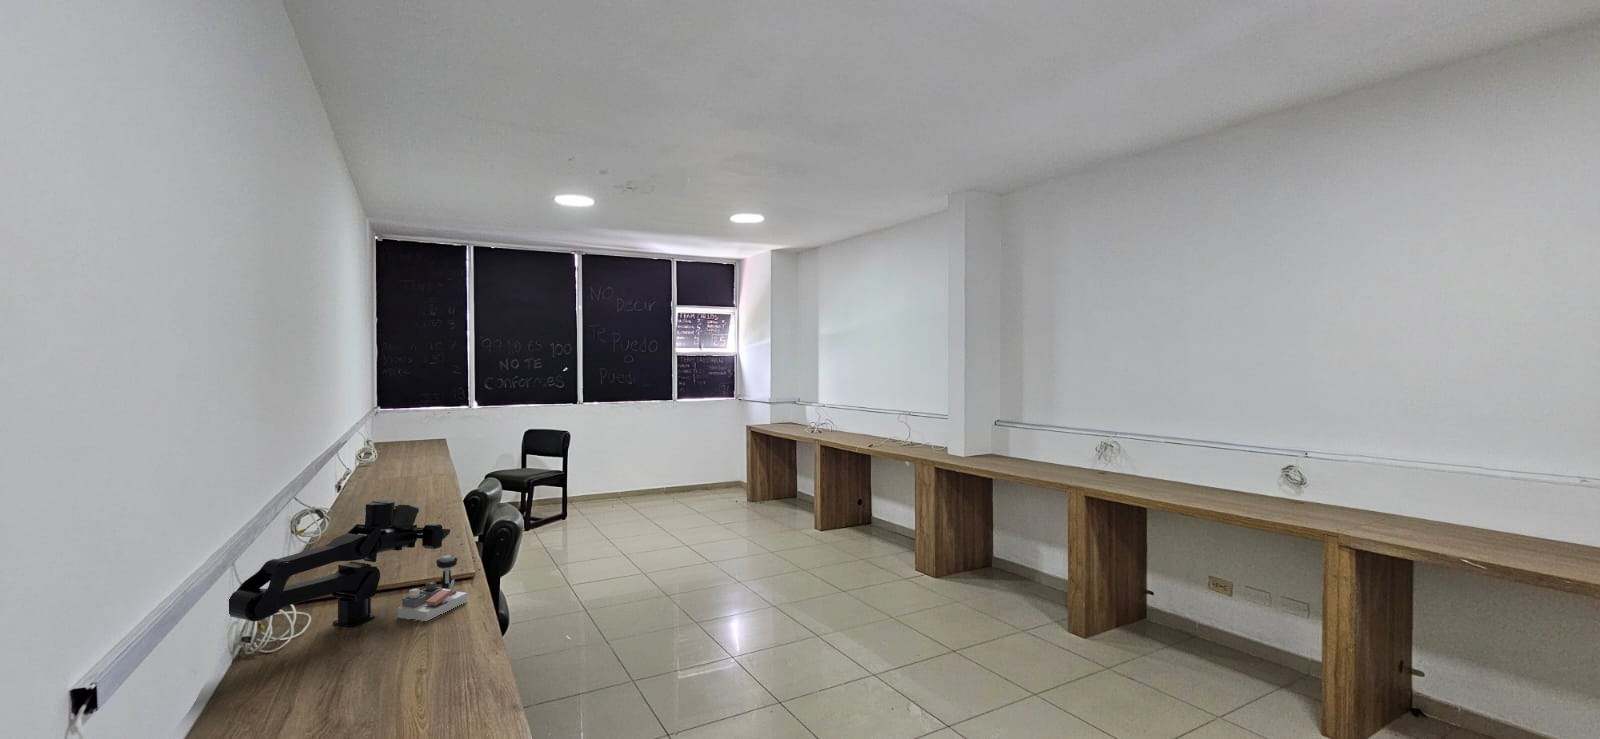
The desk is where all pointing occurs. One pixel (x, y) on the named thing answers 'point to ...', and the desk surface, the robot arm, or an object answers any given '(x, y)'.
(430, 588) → the button black
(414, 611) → the panel
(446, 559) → the grey post with knob
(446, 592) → the rocker
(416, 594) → the button ivory
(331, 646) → the desk surface
